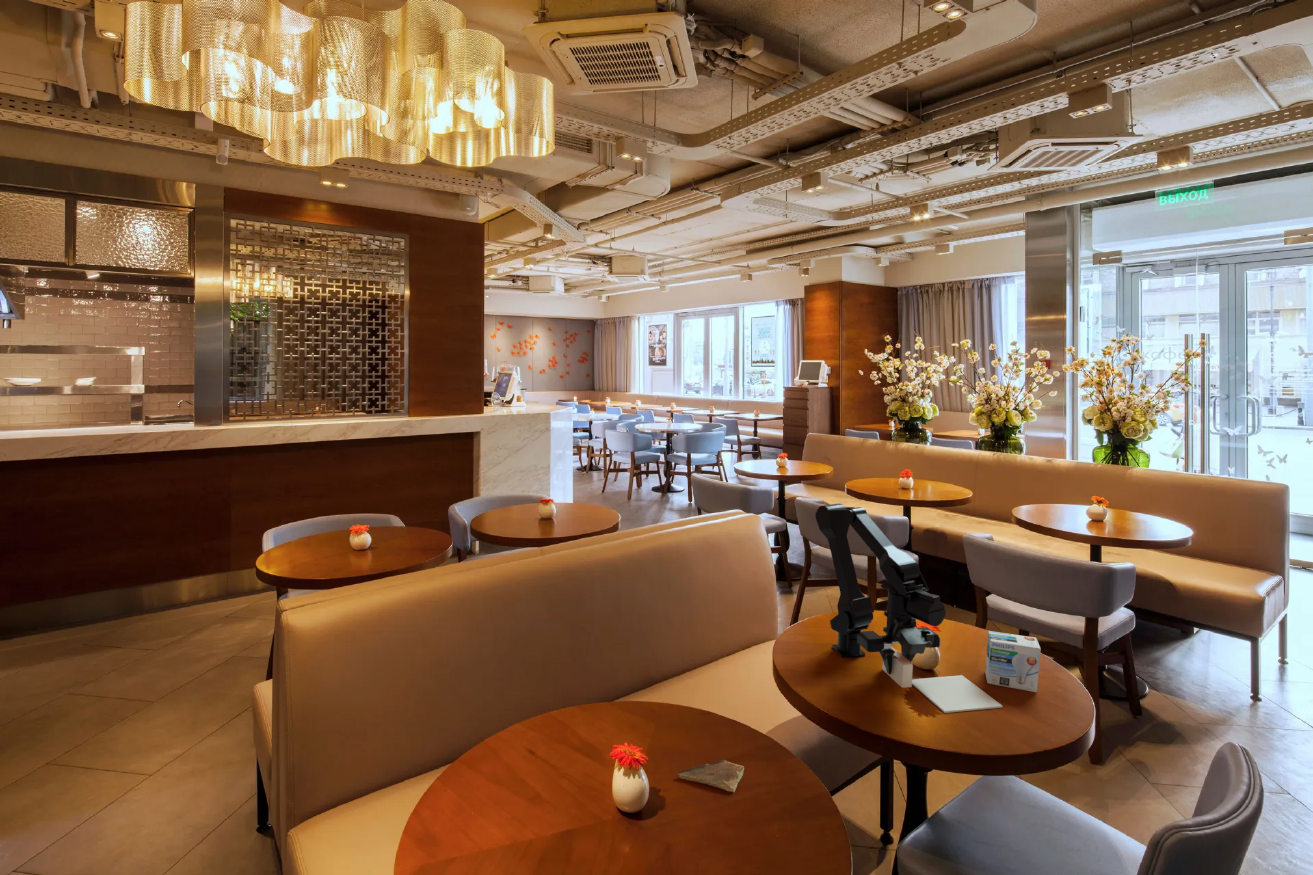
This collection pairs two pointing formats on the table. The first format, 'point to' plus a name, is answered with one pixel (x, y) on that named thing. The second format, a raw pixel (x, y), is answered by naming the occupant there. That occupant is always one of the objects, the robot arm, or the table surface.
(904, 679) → the domino block
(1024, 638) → the light bulb box
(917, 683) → the mat
